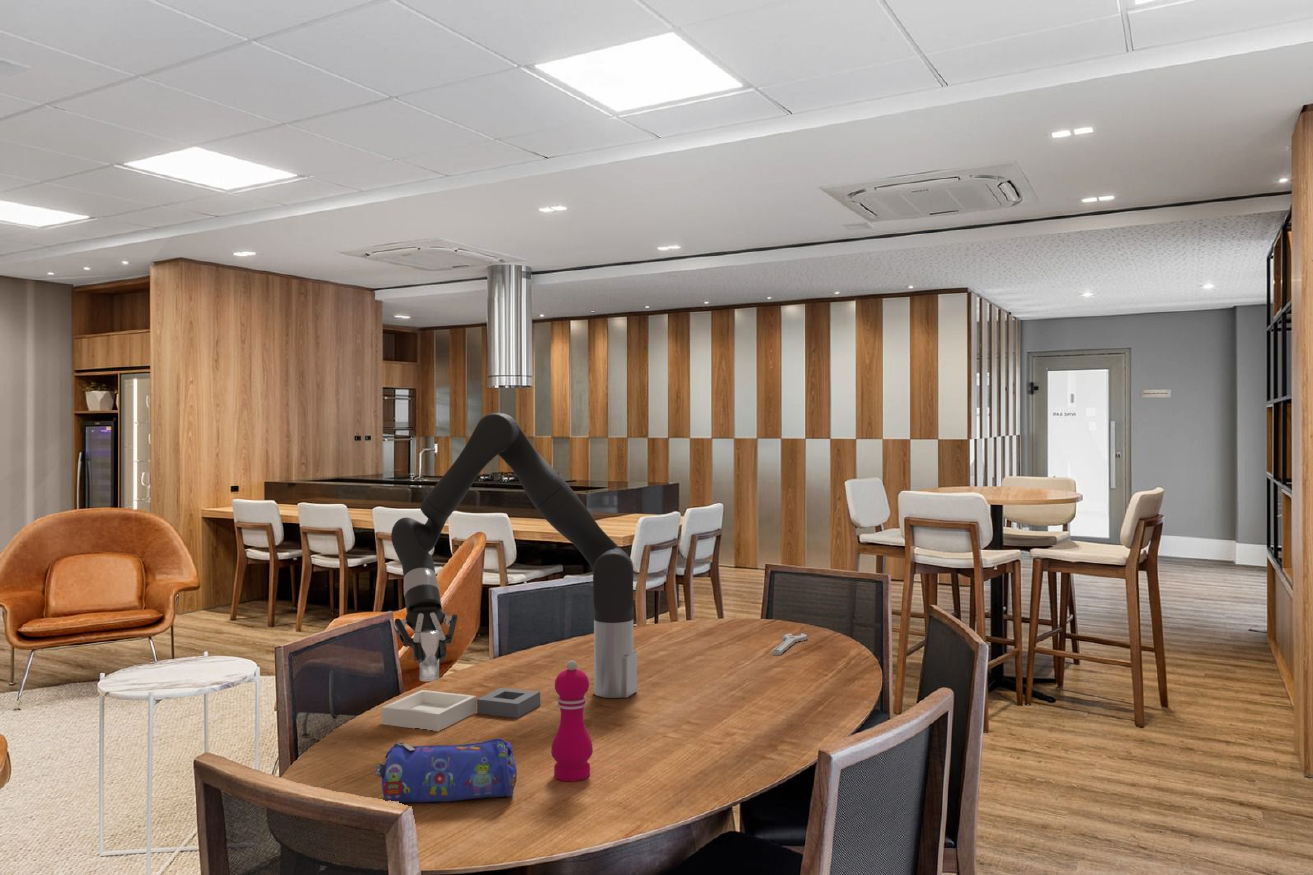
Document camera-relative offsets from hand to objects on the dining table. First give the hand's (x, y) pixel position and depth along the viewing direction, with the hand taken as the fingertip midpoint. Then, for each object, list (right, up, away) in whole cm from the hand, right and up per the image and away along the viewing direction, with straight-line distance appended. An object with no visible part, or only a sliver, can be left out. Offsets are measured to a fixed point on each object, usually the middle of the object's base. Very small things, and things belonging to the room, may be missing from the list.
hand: (431, 659), depth 187 cm
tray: (-1, -13, +2) cm, 13 cm away
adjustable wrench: (+85, -14, +69) cm, 110 cm away
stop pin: (-1, -5, +2) cm, 5 cm away
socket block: (+15, -13, +8) cm, 21 cm away
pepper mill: (+33, -13, -32) cm, 47 cm away
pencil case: (+13, -13, -41) cm, 45 cm away
